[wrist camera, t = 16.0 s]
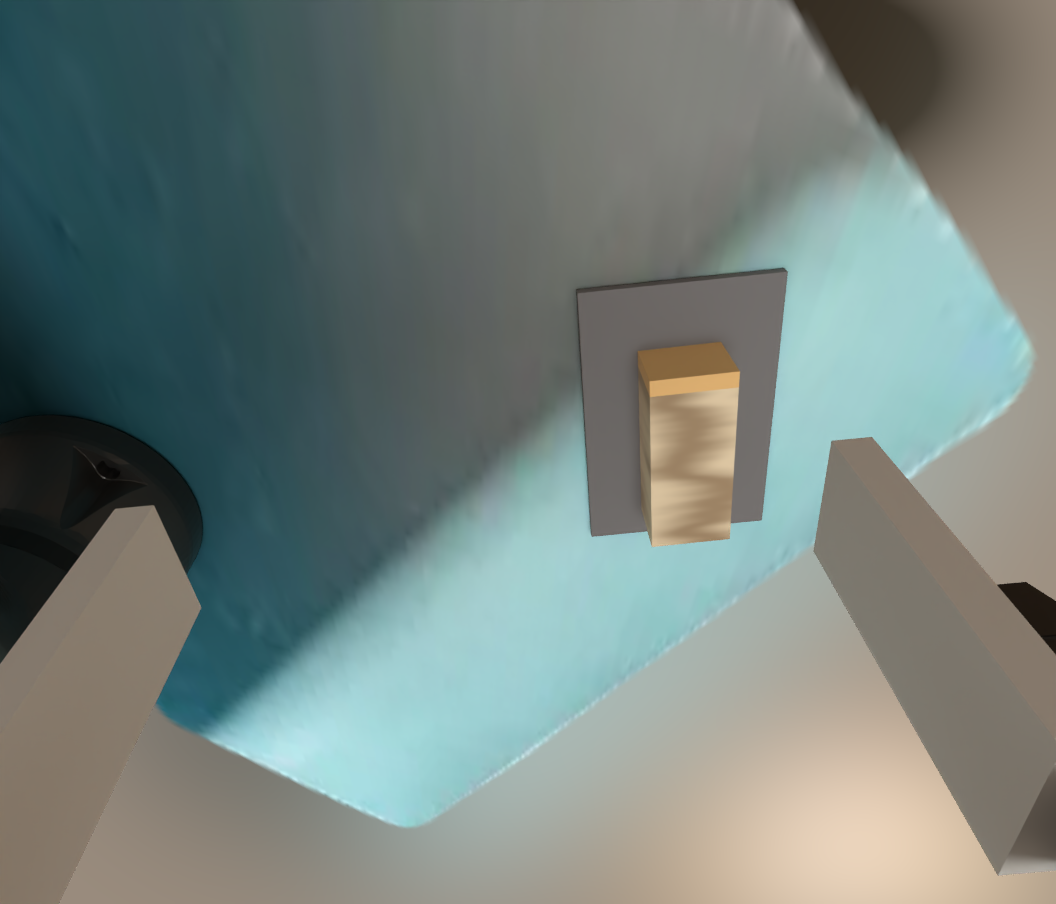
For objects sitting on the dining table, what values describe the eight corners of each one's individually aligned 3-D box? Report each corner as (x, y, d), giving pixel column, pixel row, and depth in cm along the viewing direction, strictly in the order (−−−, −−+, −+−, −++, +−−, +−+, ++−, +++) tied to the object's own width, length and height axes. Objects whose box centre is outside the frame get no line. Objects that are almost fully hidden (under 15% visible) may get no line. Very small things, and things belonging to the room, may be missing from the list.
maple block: (713, 501, 49) (720, 341, 43) (729, 538, 46) (739, 371, 40) (641, 509, 50) (637, 351, 43) (651, 546, 46) (649, 381, 40)
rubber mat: (590, 531, 51) (591, 536, 51) (576, 289, 42) (577, 293, 41) (759, 514, 51) (761, 520, 51) (784, 268, 41) (787, 271, 41)
